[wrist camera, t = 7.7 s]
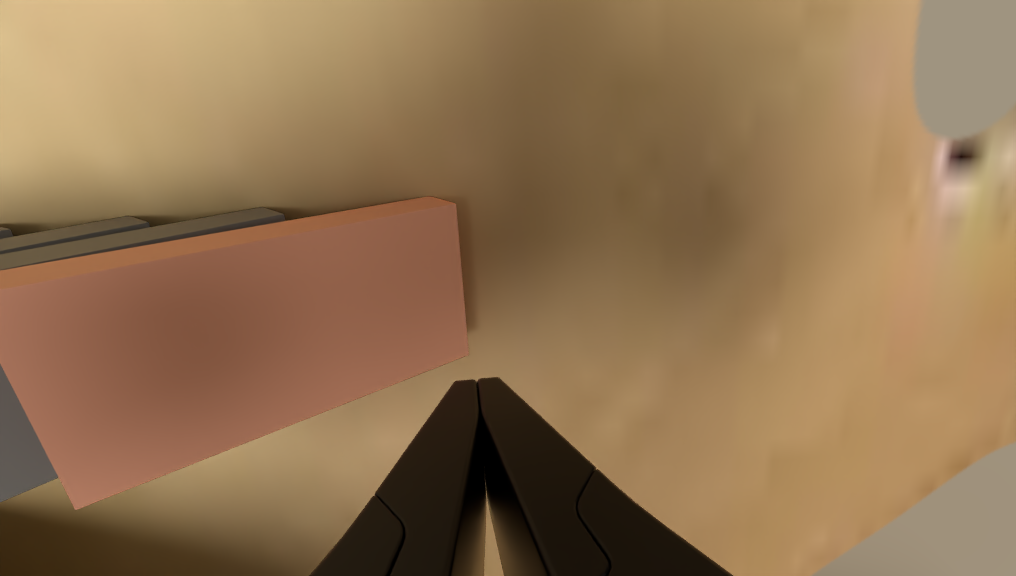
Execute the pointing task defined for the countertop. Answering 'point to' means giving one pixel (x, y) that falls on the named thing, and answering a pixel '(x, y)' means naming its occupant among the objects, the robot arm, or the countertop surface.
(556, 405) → the countertop surface
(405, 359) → the domino
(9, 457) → the domino
